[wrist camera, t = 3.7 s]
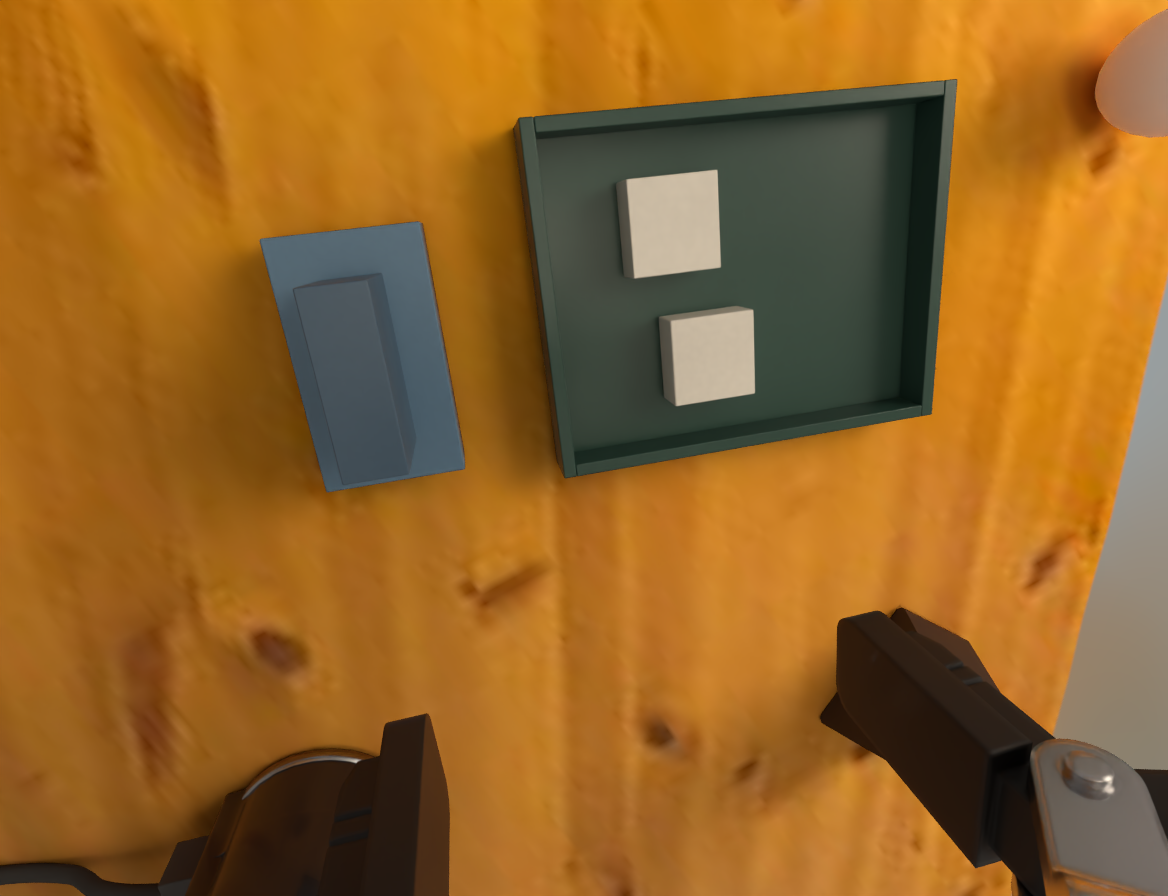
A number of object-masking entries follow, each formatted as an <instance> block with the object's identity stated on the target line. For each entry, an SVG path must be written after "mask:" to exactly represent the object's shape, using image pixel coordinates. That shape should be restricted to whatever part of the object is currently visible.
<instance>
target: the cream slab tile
mask: <svg viewBox="0 0 1168 896" xmlns="http://www.w3.org/2000/svg"><path fill="white" fill-rule="evenodd" d="M616 190H617V202H618V213H619V225H620V237H621V249H622V260H623V272H624V277H628V278H633V279H637V278H645V277H653V276H661V275H668V274H676V273H684V272H691V271H699V270H707V269H715V268H720V267H721V257H720V229H719V202H718V174H717V170H709V171H700V172H690V173H681V174H671V175H662V176H652V177H643V178H633V179H626V180H623V181H621V182H618V183H616Z"/></svg>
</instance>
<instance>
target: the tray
mask: <svg viewBox="0 0 1168 896" xmlns="http://www.w3.org/2000/svg"><path fill="white" fill-rule="evenodd" d="M956 89H957V79H953V80H945V81H931V82H920V83H909V84H897V85H886V86H875V87H863V88H852V89H840V90H829V91H818V92H806V93H795V94H784V95H772V96H761V97H750V98H738V99H727V100H715V101H704V102H693V103H681V104H670V105H659V106H647V107H636V108H625V109H613V110H602V111H590V112H579V113H568V114H556V115H545V116H535V117H534V118H533V117H522V118H518V120H517V122H516V124H515V126H514V128H513V130H514V138H515V146H516V153H517V161H518V168H519V176H520V183H521V191H522V199H523V206H524V214H525V221H526V229H527V237H528V244H529V252H530V259H531V267H532V275H533V282H534V290H535V297H536V305H537V313H538V320H539V328H540V335H541V343H542V351H543V358H544V366H545V373H546V381H547V388H548V396H549V404H550V411H551V419H552V426H553V434H554V442H555V449H556V457H557V463H558V465H559V467H560V469H561V471H562V473H563V476H564V478H570V477H576V476H582V475H587V474H593V473H599V472H605V471H610V470H616V469H622V468H627V467H633V466H639V465H644V464H650V463H656V462H662V461H667V460H673V459H679V458H684V457H690V456H696V455H702V454H707V453H713V452H719V451H724V450H730V449H736V448H742V447H747V446H753V445H759V444H764V443H770V442H776V441H782V440H787V439H793V438H799V437H804V436H810V435H816V434H822V433H827V432H833V431H839V430H844V429H850V428H856V427H862V426H867V425H873V424H879V423H884V422H890V421H896V420H902V419H907V418H913V417H919V416H925V415H930V414H932V402H933V389H934V376H935V363H936V350H937V337H938V324H939V311H940V298H941V285H942V271H943V258H944V245H945V232H946V219H947V206H948V193H949V180H950V167H951V154H952V141H953V128H954V115H955V102H956ZM709 170H717V174H718V202H719V229H720V257H721V267H720V268H715V269H707V270H699V271H691V272H684V273H676V274H668V275H661V276H653V277H645V278H637V279H633V278H628V277H624V272H623V260H622V249H621V237H620V225H619V213H618V202H617V190H616V183H618V182H621V181H623V180H626V179H633V178H643V177H652V176H662V175H671V174H681V173H690V172H700V171H709ZM732 306H740V307H744V308H749V309H753V316H754V367H755V393H754V394H749V395H743V396H737V397H731V398H725V399H719V400H712V401H706V402H700V403H694V404H688V405H682V406H675V405H673V404H672V403H671V402H669V401H668V400H667V399H665V398H664V389H663V374H662V360H661V345H660V331H659V317H660V316H667V315H674V314H681V313H689V312H696V311H703V310H710V309H717V308H724V307H732Z"/></svg>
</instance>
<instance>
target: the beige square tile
mask: <svg viewBox="0 0 1168 896" xmlns="http://www.w3.org/2000/svg"><path fill="white" fill-rule="evenodd" d="M659 331H660V345H661V360H662V374H663V389H664V398H665V399H667V400H668V401H669V402H671V403H672V404H673V405H675V406H682V405H688V404H694V403H700V402H706V401H712V400H719V399H725V398H731V397H737V396H743V395H749V394H754V393H755V367H754V316H753V309H749V308H744V307H740V306H732V307H724V308H717V309H710V310H703V311H696V312H689V313H681V314H674V315H667V316H660V317H659Z"/></svg>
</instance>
